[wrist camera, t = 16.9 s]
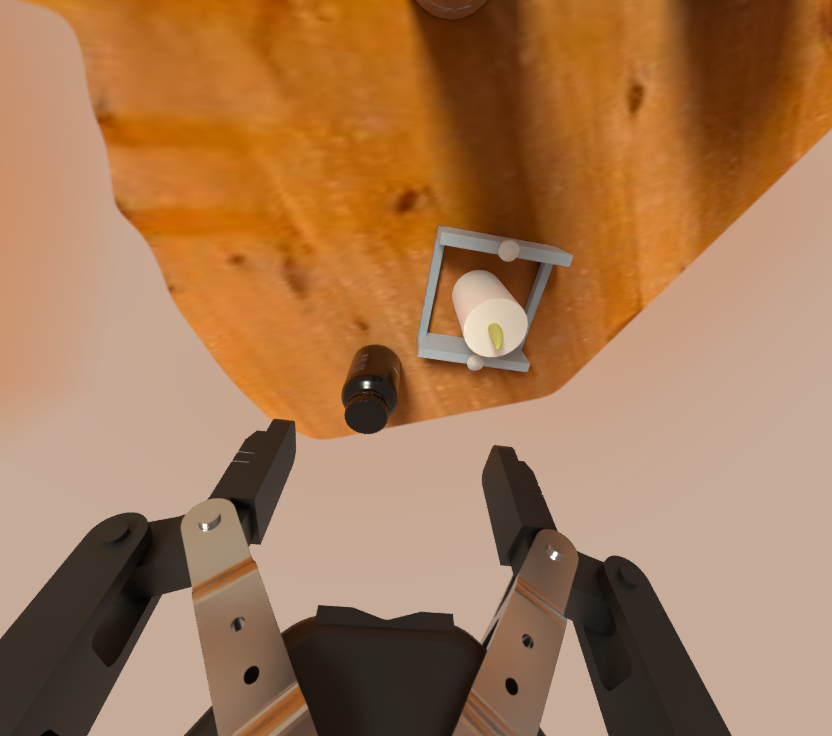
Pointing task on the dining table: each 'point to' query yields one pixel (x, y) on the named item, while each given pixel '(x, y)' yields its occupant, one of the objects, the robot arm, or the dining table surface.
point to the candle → (488, 314)
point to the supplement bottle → (371, 389)
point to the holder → (507, 251)
